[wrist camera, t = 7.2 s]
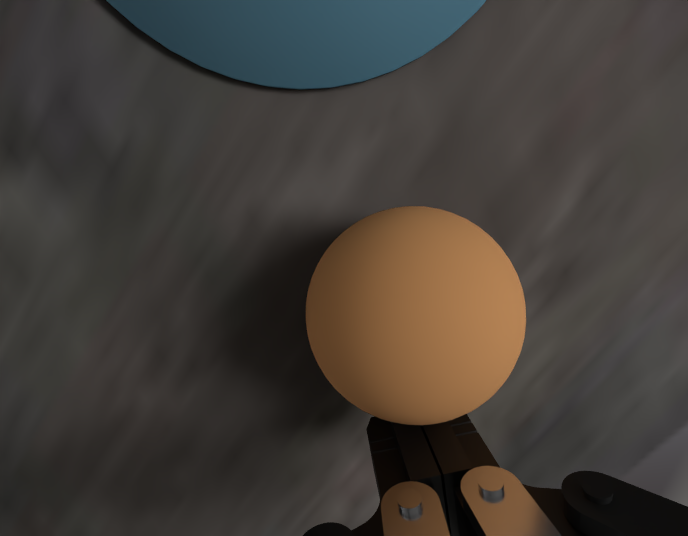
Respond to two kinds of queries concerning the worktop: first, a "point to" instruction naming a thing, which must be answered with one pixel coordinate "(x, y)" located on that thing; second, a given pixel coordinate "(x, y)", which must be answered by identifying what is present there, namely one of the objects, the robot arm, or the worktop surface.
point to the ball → (415, 315)
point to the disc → (299, 36)
